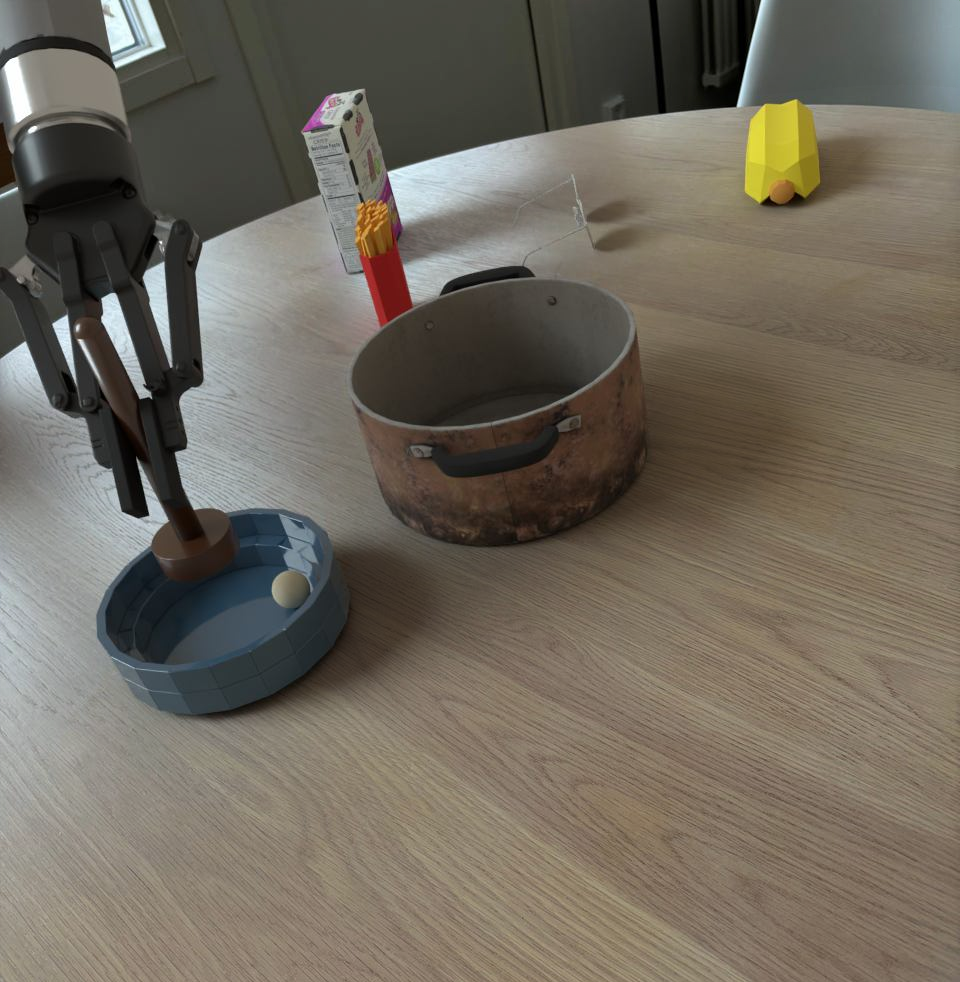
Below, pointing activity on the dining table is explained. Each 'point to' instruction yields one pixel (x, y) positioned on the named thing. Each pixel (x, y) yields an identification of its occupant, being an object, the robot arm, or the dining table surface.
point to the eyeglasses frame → (576, 211)
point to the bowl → (225, 619)
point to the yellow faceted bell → (781, 153)
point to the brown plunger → (189, 533)
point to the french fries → (381, 262)
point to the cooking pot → (503, 407)
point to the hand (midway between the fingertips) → (154, 508)
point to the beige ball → (291, 589)
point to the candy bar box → (348, 167)
